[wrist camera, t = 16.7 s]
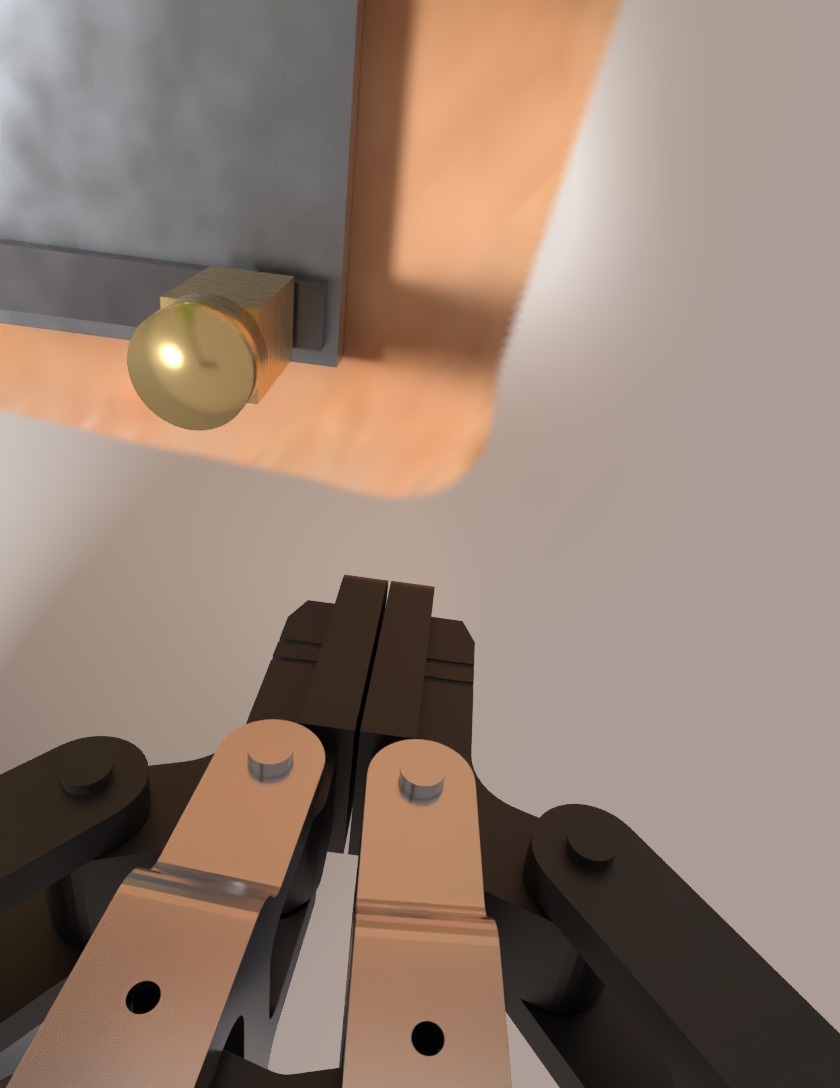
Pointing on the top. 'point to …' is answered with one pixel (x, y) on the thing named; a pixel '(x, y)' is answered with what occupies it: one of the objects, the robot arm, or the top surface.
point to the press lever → (213, 346)
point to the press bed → (176, 157)
